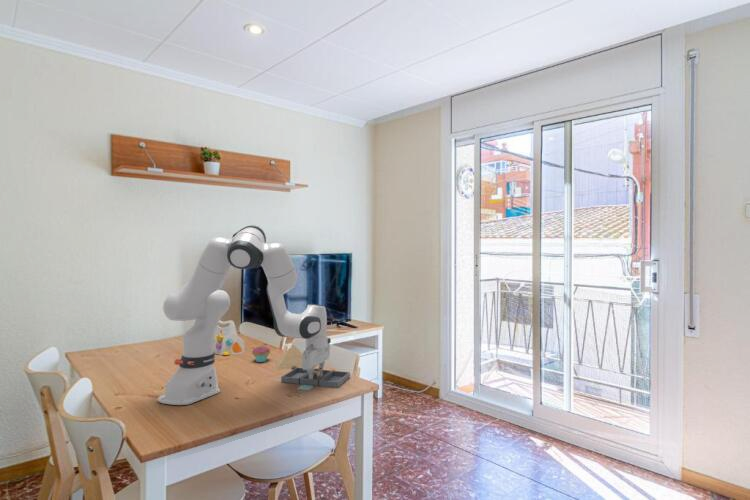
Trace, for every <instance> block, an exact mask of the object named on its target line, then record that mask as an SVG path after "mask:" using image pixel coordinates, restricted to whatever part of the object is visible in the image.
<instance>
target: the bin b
mask: <svg viewBox="0 0 750 500" xmlns="http://www.w3.org/2000/svg"><path fill="white" fill-rule="evenodd" d="M330 372H332V370H327V369H323V376H322V377H321V378H319V379H318V380H313V379H309V375H308V374H306V375H305V376H303V377H302V378H300V384H299V385H300V386H302V385H310V386H314V387H320V386H319V380H321V379H322V378H323V377H325V376H326V375H327V374H329V373H330Z"/></svg>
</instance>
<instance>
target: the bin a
mask: <svg viewBox="0 0 750 500" xmlns="http://www.w3.org/2000/svg"><path fill="white" fill-rule="evenodd" d="M306 374H308V372H307V370H303V369H302V368H298V367H297V368H295V369H292V370H290V371H289V372H287V373H285V374H283V375H282V376H281V377H280V382H281V383H282V384H283V383H284V384H293V385H301V384H300V378H302V377H303V376H305V375H306Z"/></svg>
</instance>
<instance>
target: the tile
mask: <svg viewBox="0 0 750 500" xmlns="http://www.w3.org/2000/svg"><path fill="white" fill-rule="evenodd" d="M302 357H303V351H302V352H301V350H300V349H299V348H297V346H296V345H294V344H292V345H291V346H290V347H288V348H287V350H286V351H285V352H284V353H282V354H281V355H280V356H279V357H278V358H277V359H276V360H275V368H276V371H281V370H283V369H285V370H290V371H292V370H293V369H295V368H297V367H298V368H302ZM283 371H284V370H283Z"/></svg>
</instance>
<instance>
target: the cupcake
mask: <svg viewBox="0 0 750 500" xmlns="http://www.w3.org/2000/svg"><path fill="white" fill-rule="evenodd" d="M258 341H259V342H258V343H259V346H257V347H255V348H254V349H252V355H253V356H254V358H255V362H257V363H265V362H267V360H268V358H269V354H271V350H270V348H269V347H267V346H264V345H262V342H261V341H262V340H261V338H259V339H258Z"/></svg>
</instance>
